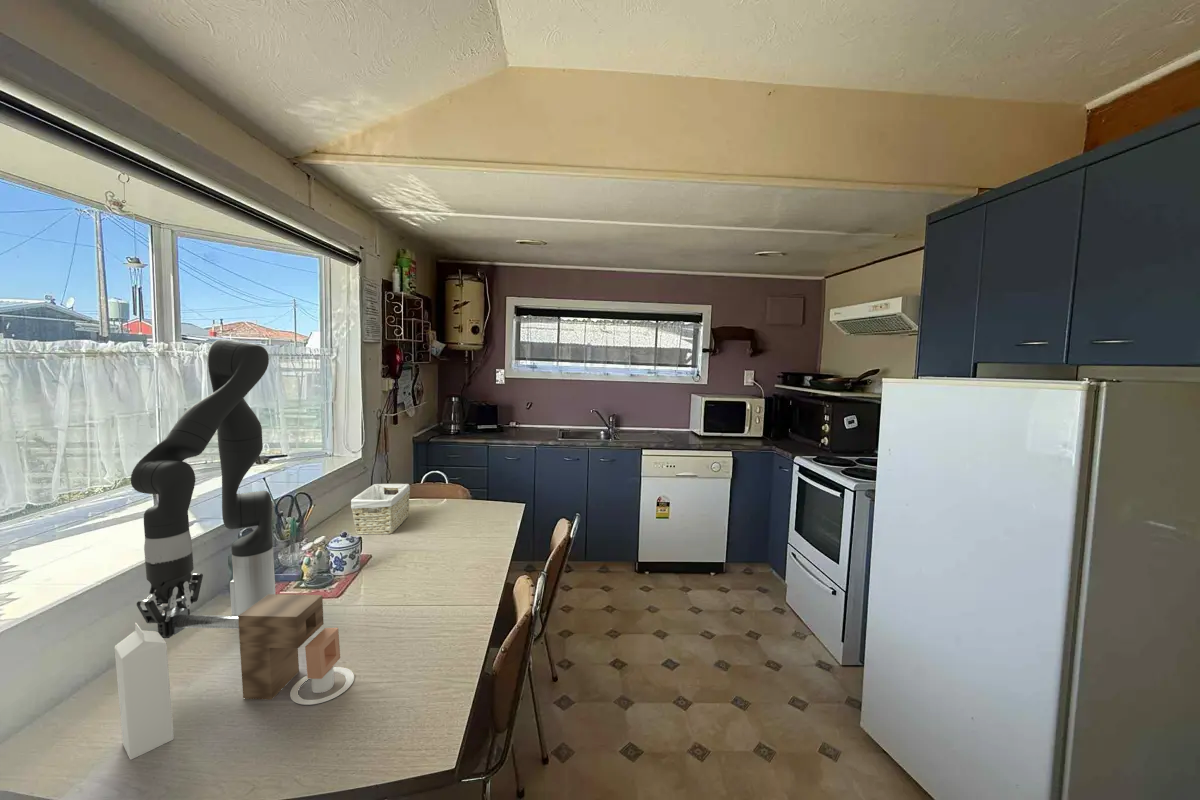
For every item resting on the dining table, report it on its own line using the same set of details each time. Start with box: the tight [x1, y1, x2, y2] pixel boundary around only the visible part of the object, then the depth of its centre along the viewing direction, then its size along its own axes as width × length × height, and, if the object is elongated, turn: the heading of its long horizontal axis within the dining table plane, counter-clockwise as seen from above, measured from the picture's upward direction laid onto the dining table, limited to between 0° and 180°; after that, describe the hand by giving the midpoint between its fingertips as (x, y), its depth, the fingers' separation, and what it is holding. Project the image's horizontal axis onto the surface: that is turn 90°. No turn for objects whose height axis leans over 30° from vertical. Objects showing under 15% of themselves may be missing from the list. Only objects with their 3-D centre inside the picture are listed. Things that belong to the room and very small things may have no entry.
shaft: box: [162, 607, 239, 635], centre depth 105 cm, size 29×4×4 cm, turn 89°
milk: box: [114, 622, 174, 761], centre depth 89 cm, size 6×6×22 cm
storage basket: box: [350, 483, 411, 535], centre depth 203 cm, size 24×16×15 cm
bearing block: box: [238, 593, 325, 701], centre depth 105 cm, size 12×9×18 cm
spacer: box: [304, 627, 341, 680], centre depth 106 cm, size 3×7×7 cm, turn 178°
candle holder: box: [289, 666, 355, 706], centre depth 106 cm, size 12×12×4 cm
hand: (174, 631), depth 105 cm, fingers closed on shaft, 3 cm apart
